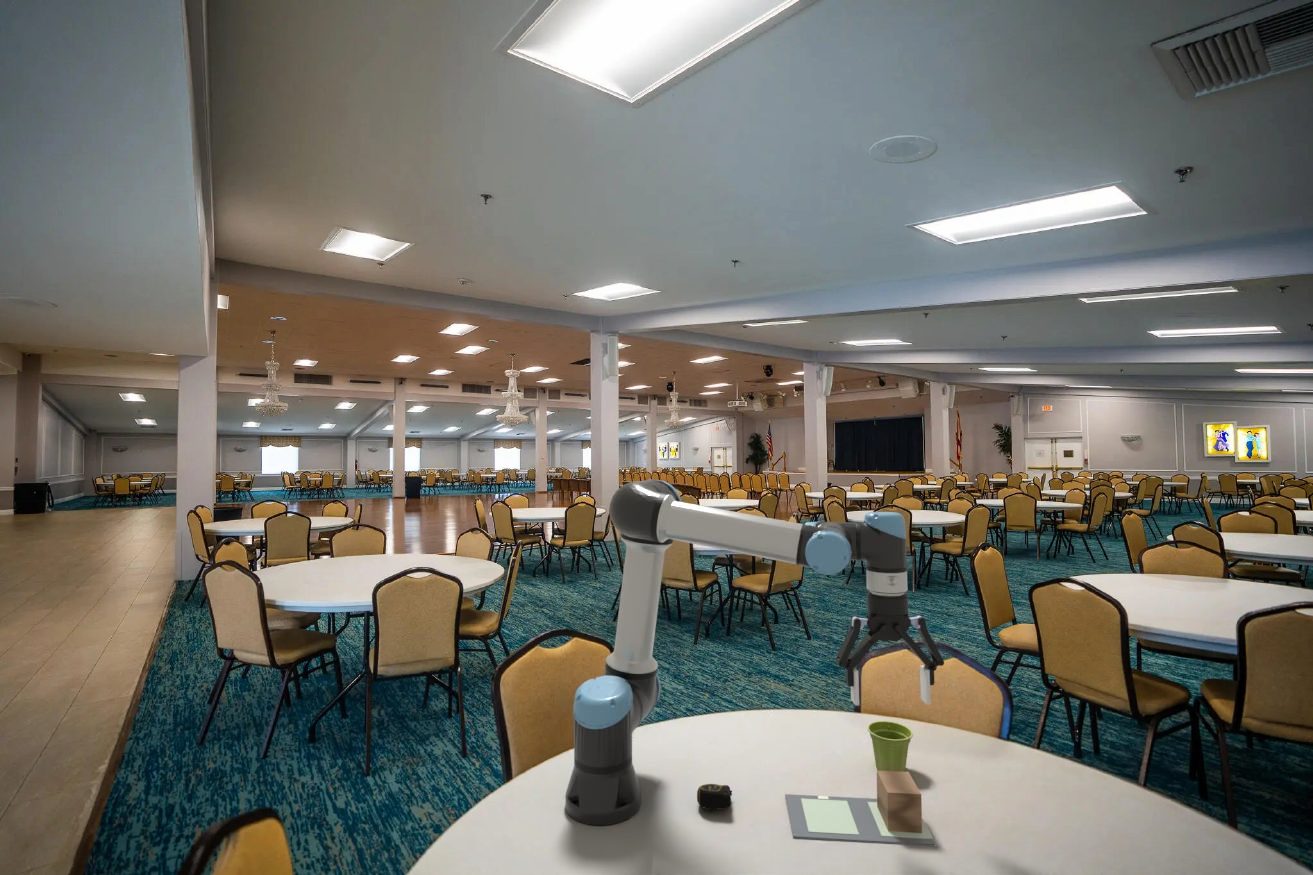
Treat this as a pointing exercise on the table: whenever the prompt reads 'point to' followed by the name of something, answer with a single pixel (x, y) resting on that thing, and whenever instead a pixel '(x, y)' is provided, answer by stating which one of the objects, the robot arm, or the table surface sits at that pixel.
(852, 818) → the grey flat panel
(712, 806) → the tape measure
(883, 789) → the walnut block
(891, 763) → the plant pot
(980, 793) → the table surface
